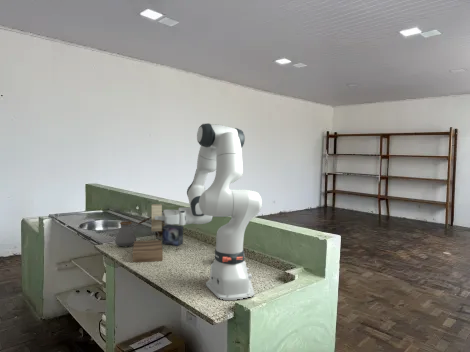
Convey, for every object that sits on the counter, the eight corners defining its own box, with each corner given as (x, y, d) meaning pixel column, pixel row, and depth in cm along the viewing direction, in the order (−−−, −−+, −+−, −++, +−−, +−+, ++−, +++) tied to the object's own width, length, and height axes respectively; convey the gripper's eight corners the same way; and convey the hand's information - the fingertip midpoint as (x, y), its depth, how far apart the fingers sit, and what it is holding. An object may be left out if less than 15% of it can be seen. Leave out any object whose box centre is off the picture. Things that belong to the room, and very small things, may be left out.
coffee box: (154, 238, 200) (155, 212, 199) (161, 236, 206) (162, 210, 205) (166, 240, 196) (167, 214, 195) (173, 238, 202) (173, 212, 200)
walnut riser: (162, 260, 160) (162, 250, 159) (132, 262, 156) (132, 252, 156) (160, 249, 179) (160, 240, 178) (134, 250, 175) (134, 241, 175)
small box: (161, 244, 188) (161, 226, 187) (167, 241, 194) (167, 224, 193) (178, 246, 185) (178, 228, 184) (183, 243, 191) (183, 225, 190)
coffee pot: (117, 249, 176) (118, 221, 175) (112, 243, 186) (112, 217, 185) (156, 244, 188) (156, 218, 187) (149, 239, 198) (149, 214, 197)
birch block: (161, 230, 166) (161, 205, 165) (151, 231, 165) (151, 205, 164) (161, 228, 171) (161, 204, 170) (151, 229, 170) (151, 204, 169)
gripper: (180, 206, 180) (154, 207, 177) (184, 213, 161) (155, 214, 157) (180, 217, 181) (154, 218, 177) (183, 226, 161) (155, 227, 158)
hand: (154, 216), depth 167 cm, fingers closed on birch block, 5 cm apart
